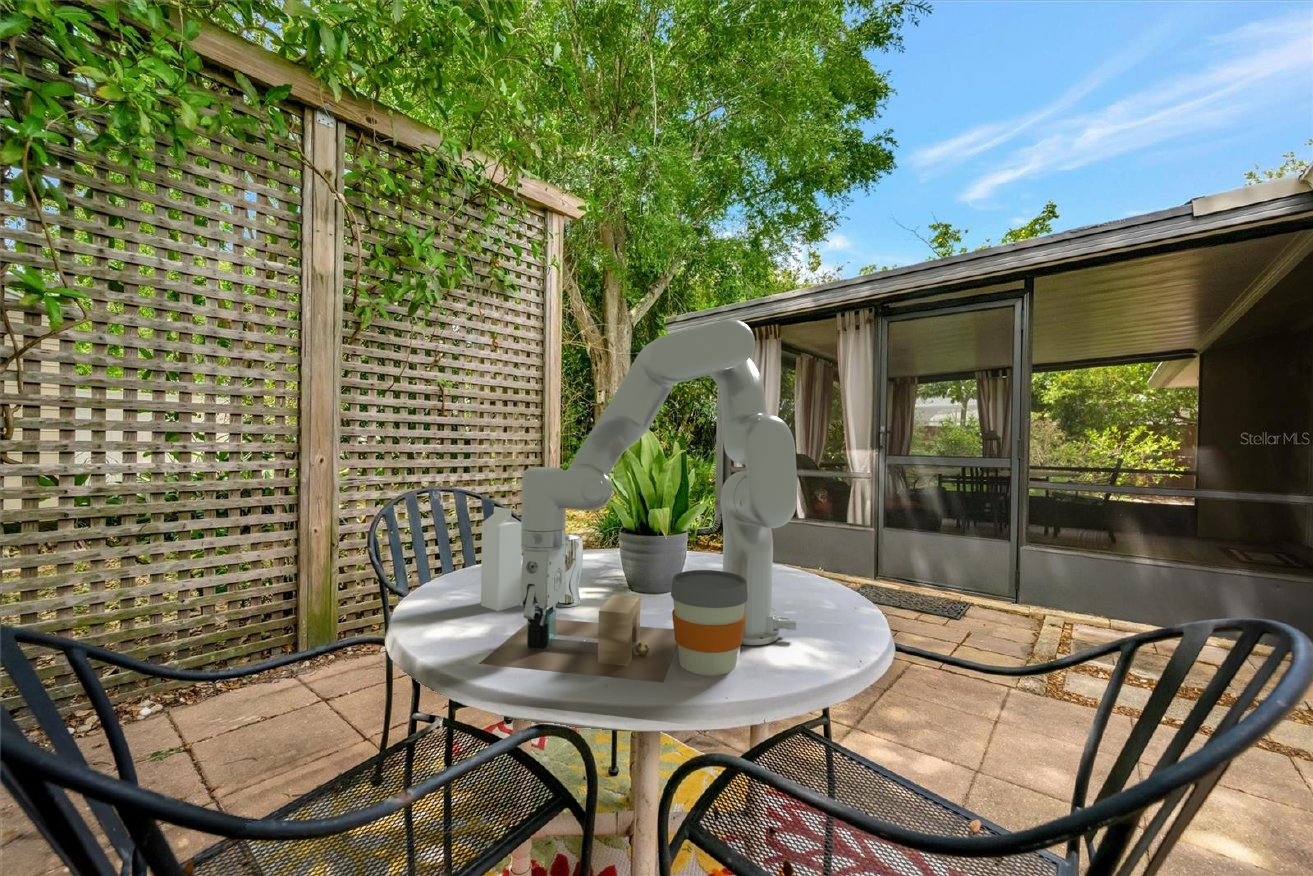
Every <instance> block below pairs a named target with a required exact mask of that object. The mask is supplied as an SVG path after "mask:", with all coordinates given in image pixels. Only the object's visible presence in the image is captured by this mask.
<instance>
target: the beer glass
mask: <svg viewBox="0 0 1313 876" xmlns="http://www.w3.org/2000/svg"><path fill="white" fill-rule="evenodd" d="M564 554H565V574H566V593H565V595H564V597H563V598H562V599H560V600H559V601H558V602H557V603H556V607H559V608H571V607H576V606H579V605H580V604H581V597H580V579H581V574H582V569H583V561H584V544H583V536H582V535H581V534H575V533H565V547H564Z"/></svg>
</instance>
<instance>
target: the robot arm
mask: <svg viewBox="0 0 1313 876" xmlns="http://www.w3.org/2000/svg"><path fill="white" fill-rule="evenodd" d="M755 347H756V340H755V335H754V333H753V331H752V328H750V327H749V325H748V324H746V323H745V322H743V321H742V320H738V319H734V318H733V319H732V318H728V319H723V320H719V321H716V322H712V323H708V324H704V325H700V326H698V327H693V328H690V329H689V328H688V329H687V330H682V331H678V332H677V331H676V332H673V333H669V334H666V335H662V336H660V337H658V338H656V339H654V340H653V341H650V342H649V343H647V344H646V345H645V346H644V347H642V349H641V350H640V351H639V352H638V354H637V356H636V358H635V359H634V361H633V363H632V364H631V366H630V367H629V369H628V371H627V373H626V375H625V376H624V378H623V379H622V381H621V383H620V385H619V387H618V389H617V390H616V391H615V393H614V395H613V397H612V398H611V399H610V401H609V403H608V405H607V406H606V408H605V409H604V411H603V412H602V414H601V415H600V417H599V418H598V420H597V422H596V424H594V427H593V428H592V430H591V431H590V432H589V434H588V435H587V437H586V438H585V440H584V441H583V443H582V444H581V446H580V448H579V449H578V451H577V453H576V454H575V456H574V458H573V460H572V461H571V463H570V465H569V466H568V468H567V469H565V470H564V469H562V468H560V467H553V466H536V467H535V466H534V467H529V468H526V469H525V470H524V471H523V473H522V479H521V480H522V481H521V523H522V524H521V548H522V550H523V554H522V555H523V556H522V561H521V593H520V594H521V607H522V608H523V609H524V610H523V618H525V619H526V621H527V622H526V624H528V647H529V648H538V649H545V648H546V647H547V625H545V616H546V610H548V609H551V610H556V611H557V609H556V607H557V606H556V603H557V602H558V601H559V600H560V599H562V598H563V597H564V595H565V593H566V574H565V554H564V547H565V534H566V516H567V513H566V512H567V509H571V510H578V511H585V512H586V511H587V512H588V511H589V512H591V511H593V512H594V511H596V510H599V509H602V508H604V507H605V506H606V505H607V504H608V503H609V502H610V501H611V498H612V496H613V491H614V490H613V487H614V486H613V482H612V480H611V478H610V477H609V475H610V473H611V472H612V470H613V468H614V467H615V465H616V464H617V462H618V461H619V459H620V458H621V456H622V455H623V454H624V452H626V450H628V449H629V448H630V447H631V446H632V445H633V444H635V443H637V441H639V440H640V439H641V438H642V437H644V436H645V434H646V433H647V432H648V431H649V429H650V428H651V426H652V424H653V422H654V421H655V419H656V417H657V416H658V413H659V412H660V409H661V408H662V406H663V404H664V403H665V401H666V399H667V398H668V396H669V394H670V392H671V391H672V389H673V387H674V386H675V385H676V384H679V383H684V382H687V381H691V380H692V381H693V380H695V379H696V380H697V379H700V378H704V377H707V376H709V377H711V379H712V380H713V381H714V382H715V384H716V386H717V388H718V393H719V397H720V404H721V419H722V439H723V441H722V442H723V448H724V452H725V455H726V456H727V457H728V458H729V459H730V460H731V461H733V462H735V463H737V464H742V465H745V466H746V470H741V471H738V472H735V473H733V474H732V475H730V476H729V477H728V478H727V479H726V480H725V481H724V483H723V485H722V487H721V491H720V509H721V510H720V511H721V516H722V517H721V518H722V527H723V528H722V529H723V535H722V536H723V544H722V545H723V551H722V571H724V572H729V573H733V574H737V575H739V576H742V577H743V578H745V579H746V582H747V594H748V600H747V601H746V602H745V607H744V613H745V615H746V618H745V625H744V631H743V638H742V644H741V646H742V645H744V646H763V645H767V644H772V643H774V642H776V641H777V640H778V639H779V637H780V629H781V630H786V631H787V630H788V631H796V630H797V620H796V619H792V618H791V619H789V616H784V615H780V616H779V615H777V614H775V613H774V609H773V607H772V606H773V605H772V604H773V602H772V601H773V559H774V558H773V556H774V540H773V531H772V529H777V528H780V527H783V526H785V525H787V524H788V523H789V522H790V521H791V519H792V518H793V516H794V515H795V512H796V509H797V506H798V477H797V476H798V474H797V473H798V472H797V459H796V458H797V456H796V453H797V452H796V443H795V439H794V436H793V433H792V430H791V428H790V427H789V426H788V424H787V423H786V422H785V421H784V420H783V419H781V418H780V417H778V416H777V415H773V414H768V412H767V411H768V410H767V402H766V393H765V385H764V381H763V378H762V375H761V373H760V371H759V370H758V368H757V366H756V365H755V364H754V361H752V359H750V358H751V357H752V355H753V354H754V351H755ZM536 604H538V605H536ZM535 611H540V615H539V613H536V612H535Z"/></svg>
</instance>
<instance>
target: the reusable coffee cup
mask: <svg viewBox="0 0 1313 876" xmlns="http://www.w3.org/2000/svg"><path fill="white" fill-rule="evenodd" d="M670 597H671V598H672V600H673V602H672V603H673V609H672V612H671V613H672V624H673V629H674V636H675V641H676V643H677V649H678V658H679V659H678V660H679V664H680V666H681V667H682V669H684V670H686V671H688V672H690V673H693V674H697V675H702V676H721V675H725V674H730V673H731V672H733V671H734V670H735V669H736V667H737V659H738V652H739V648H740V647H741V646H742V638H743V631H744V625H745V618H746V615H745V613H744V607H745V602H746V601H747V600H748V594H747V582H746V579H745V578H743V577H742V576H739V575H737V574H733V573H729V572H724V571H723V570H713V569H712V570H711V569H696V570H695V569H694V570H686V571H682V572H678V573H676V574H674V575H673V577H672V584H671V591H670Z"/></svg>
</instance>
